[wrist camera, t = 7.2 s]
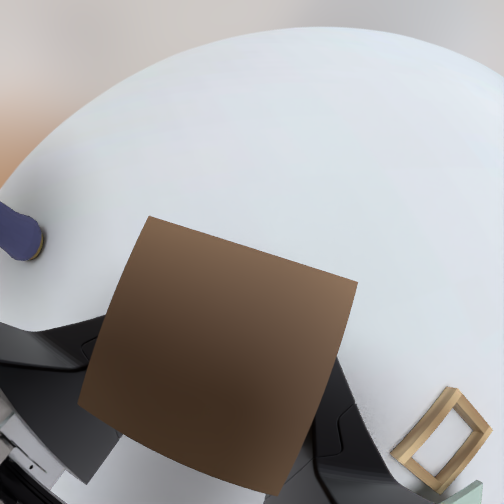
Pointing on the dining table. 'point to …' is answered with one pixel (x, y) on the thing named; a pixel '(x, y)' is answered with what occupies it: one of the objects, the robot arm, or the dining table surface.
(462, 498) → the lid
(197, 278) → the brown block
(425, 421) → the frame
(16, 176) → the dining table surface
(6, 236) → the rubber mallet
